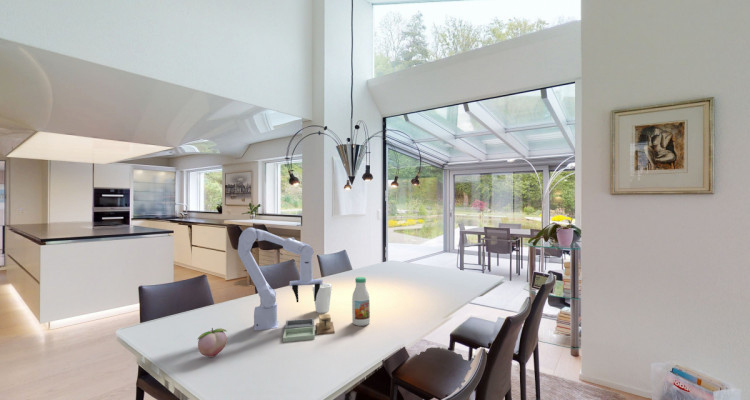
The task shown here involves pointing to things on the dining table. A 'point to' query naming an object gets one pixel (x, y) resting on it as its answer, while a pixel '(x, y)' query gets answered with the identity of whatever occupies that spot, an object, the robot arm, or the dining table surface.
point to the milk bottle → (360, 303)
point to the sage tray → (298, 334)
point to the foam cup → (323, 298)
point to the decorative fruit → (212, 342)
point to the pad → (325, 330)
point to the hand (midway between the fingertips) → (306, 301)
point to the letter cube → (325, 321)
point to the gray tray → (299, 323)
